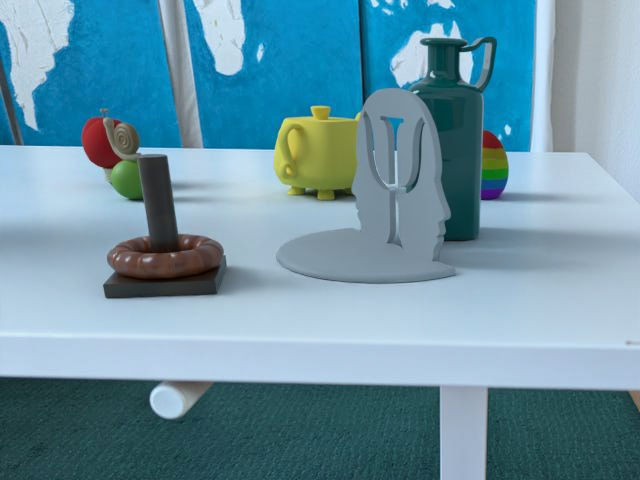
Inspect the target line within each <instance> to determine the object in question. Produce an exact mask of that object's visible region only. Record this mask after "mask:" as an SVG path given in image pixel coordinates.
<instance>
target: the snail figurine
mask: <svg viewBox="0 0 640 480" xmlns="http://www.w3.org/2000/svg"><path fill="white" fill-rule="evenodd" d="M99 112H100V113H102V114H101V115H102V117H103V124H104V126H105V128H106V133H107V136H108V139H109V142H110V145H111V147H112V149H113V151H114V152H115V154H116V155H118V156H119V157H120V158H122V159H123V160H124V161H121V162H119V163H118V164H116V165H115V167H114V168H113V170H112V172H111V182H112V184H111V186H112V187H113V189H114V190H115V191H116V192H117V194H119V195H120V196H121V197H124V198H126V199H129V200H140V199H144V198H143V192H142V185H141V179H140V172H139V166H138V160H137V156H138V155H143V154H142V152H138V150H139V149H140V145H141V141H140V135H139V132H138V131H137V129H136V128H135V126H133V125H132V124H130V123H128V122H126V121H125V122H122V123H120V124H118V125H117V126H116V128H115V129H114V122H113V120H112V119H113V118H111V117H109V116H108V113H109V109H108V108H100V109H99ZM105 113H106V116H104V114H105ZM104 117H106V118H104Z"/></svg>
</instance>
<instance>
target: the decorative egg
mask: <svg viewBox="0 0 640 480" xmlns="http://www.w3.org/2000/svg"><path fill="white" fill-rule="evenodd" d="M509 165H510V164H509V160H508V155H507V152H506V149H505V147H504V145H503V143H502V141H501V140H500V139H499V137H498V136H497V135H496V134H494V133H493V132H492V131H490V130H488V129H483V139H482V172H481V200H493V199H498V198H499V197H501V195H502V193H503V192H504V190H505V189H506V186H507V184H508V180H509V172H510V169H509V168H510V166H509Z"/></svg>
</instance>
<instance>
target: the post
mask: <svg viewBox="0 0 640 480" xmlns="http://www.w3.org/2000/svg"><path fill="white" fill-rule="evenodd" d="M137 160H138V166H139V172H140V179H141V185H142V192H143V198H142V199H143V204H144V210H145V211H144V212H145V216H146V223H147V230H148V236H149V237H150V243H151V249H152V253H173V252H180V251H181V249H180V242H179V235H178V234H179V229H178V221H177V215H176V207H175V200H174V193H173V186H172V179H171V170H170V164H169V157H168V155H167V154H165V153H145V154H144V153H143V154H142V155H138V156H137ZM227 267H228V264H227V256H226V254H224V255H223V258H222V260H221V262H220V264H219V265H218V266H217V267H216V268H214V269H211V270H208V271H206V272H203V273H200V274H197V275H191V276H185V277H179V278H172V279H141V278H134V277H127V276H123V275H121V274H120V273H118V272H117V271H115V270H114V271H113V272H112V274H110V276H109V277H108V278H107V279H106V280H105V282H104V283H103V284H102V287H103V288H102V289H103V292H104V297H105V298H106V299H111V298H113V299H114V298H137V297H141V298H142V297H164V296H165V297H166V296H167V297H168V296H190V295H191V296H192V295H215V294H218V292H219V291H218V290H219V288H220V285H221V282H222V280H223V278H224V275H225V273H226V270H227Z"/></svg>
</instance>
